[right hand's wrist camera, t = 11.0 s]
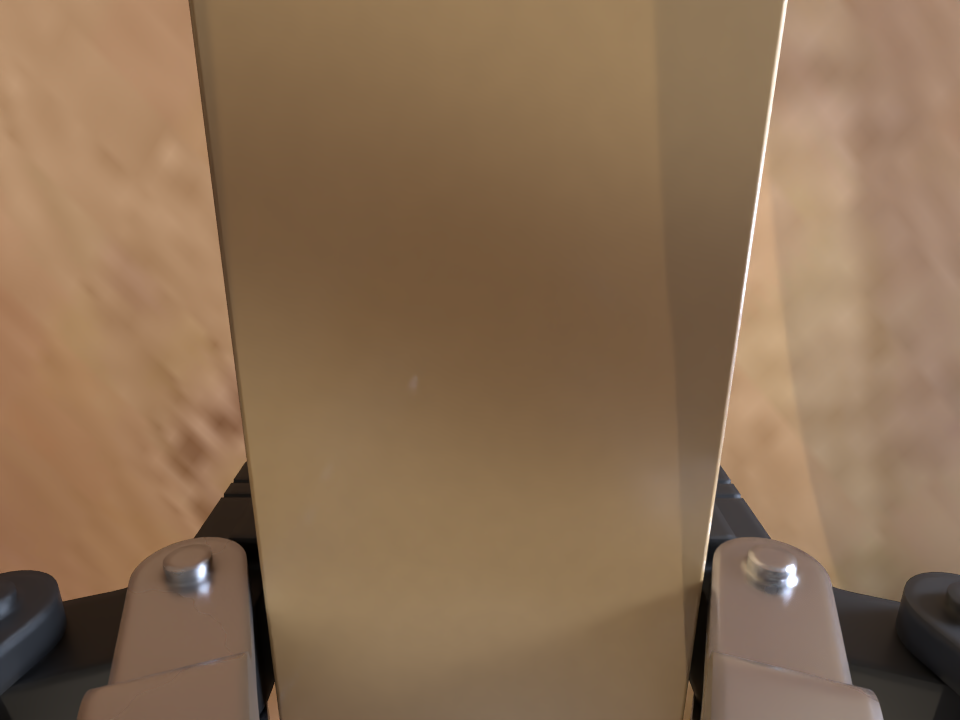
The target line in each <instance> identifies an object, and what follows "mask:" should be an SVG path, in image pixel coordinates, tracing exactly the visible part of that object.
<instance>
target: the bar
mask: <svg viewBox="0 0 960 720" xmlns="http://www.w3.org/2000/svg"><path fill="white" fill-rule="evenodd" d="M786 7H787V0H189V8H190V15H191V23H192V31H193V39H194V47H195V55H196V63H197V71H198V79H199V86H200V94H201V102H202V110H203V118H204V126H205V134H206V142H207V150H208V157H209V165H210V173H211V181H212V189H213V197H214V205H215V213H216V221H217V228H218V236H219V244H220V252H221V260H222V268H223V276H224V284H225V292H226V299H227V307H228V315H229V323H230V331H231V339H232V347H233V355H234V363H235V370H236V378H237V386H238V394H239V402H240V410H241V418H242V426H243V434H244V441H245V449H246V457H247V465H248V473H249V481H250V489H251V497H252V505H253V512H254V520H255V528H256V536H257V544H258V552H259V560H260V568H261V576H262V583H263V591H264V599H265V607H266V615H267V623H268V631H269V639H270V647H271V654H272V662H273V670H274V678H275V686H276V694H277V702H278V710H279V718H280V720H683V715H684V708H685V701H686V694H687V688H688V681H689V674H690V667H691V660H692V653H693V646H694V639H695V633H696V626H697V619H698V612H699V605H700V598H701V591H702V584H703V578H704V571H705V564H706V557H707V550H708V543H709V536H710V529H711V523H712V516H713V509H714V502H715V495H716V488H717V481H718V474H719V468H720V461H721V454H722V447H723V440H724V433H725V426H726V419H727V413H728V406H729V399H730V392H731V385H732V378H733V371H734V364H735V358H736V351H737V344H738V337H739V330H740V323H741V316H742V309H743V303H744V296H745V289H746V282H747V275H748V268H749V261H750V254H751V248H752V241H753V234H754V227H755V220H756V213H757V206H758V199H759V193H760V186H761V179H762V172H763V165H764V158H765V151H766V145H767V138H768V131H769V124H770V117H771V110H772V103H773V96H774V90H775V83H776V76H777V69H778V62H779V55H780V48H781V41H782V35H783V28H784V21H785V14H786Z"/></svg>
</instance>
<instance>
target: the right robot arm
mask: <svg viewBox="0 0 960 720" xmlns="http://www.w3.org/2000/svg"><path fill="white" fill-rule="evenodd" d="M689 681H690V683H691V686H692V689H693V692H694V696H693V703H692V710H691V717H690V720H960V575H957V574H952V573H943V572H929V573H922V574H918V575H915V576H914V577H912V578H910V579H909V580H908V581H907V583H906V585H905V588H904V592H903V595H902V599H901V602H897V601H892V600H887V599H882V598H877V597H872V596H868V595H863V594H858V593H853V592H849V591H845V590H841V589H838V588H835V587H832V584H831V580H830V577H829V575H828V573H827V572H826V570H825V569H824V568H823V566H822V565H821V564H820V563H819V562H818V561H816V560H815V559H814V558H813V557H811V556H810V555H808V554H807V553H805V552H803V551H801V550H800V549H798V548H796V547H793V546H791V545H788V544H786V543H783V542H779V541H776V540H771V538H770V537H769V535H768V534H767V532H766V531H765V530H764V528H763V527H762V525H761V524H760V522H759V521H758V519H757V518H756V516H755V515H754V514H753V512H752V511H751V509H750V508H749V506H748V505H747V503H746V502H745V500H744V499H743V498H741V497H740V493H739V492H738V490H737V489H736V487H735V486H734V485H733V484H731V480H730V479H729V477H728V476H727V474H726V473H725V471H724V470H723V469H722V467H721V466H720V468H719V474H718V481H717V488H716V495H715V502H714V509H713V516H712V523H711V529H710V536H709V543H708V550H707V557H706V564H705V571H704V578H703V584H702V591H701V598H700V605H699V612H698V619H697V626H696V633H695V639H694V646H693V653H692V660H691V667H690V674H689ZM274 682H275V678H274V670H273V662H272V654H271V647H270V639H269V631H268V623H267V615H266V607H265V599H264V591H263V583H262V576H261V568H260V560H259V552H258V544H257V536H256V528H255V520H254V512H253V505H252V497H251V489H250V481H249V473H248V465H247V462H245V464H244V465H243V467H242V468H241V470H240V471H239V473H238V474H237V475H236V477H235V478H234V483H231V484H230V486H229V487H228V489H227V490H226V492H225V493H224V498H221V499H220V501H219V502H218V503H217V505H216V506H215V508H214V509H213V511H212V512H211V514H210V515H209V517H208V518H207V520H206V521H205V523H204V524H203V526H202V527H201V529H200V530H199V531H198V533H197V534H196V536H195V537H194V538H193V539H189V540H184V541H181V542H177V543H174V544H172V545H169V546H167V547H164V548H162V549H160V550H159V551H157V552H155V553H153V554H152V555H150V556H149V557H147V558H146V559H145V560H144V561H142V562H141V563H140V564H139V565H138V566H137V568H136V569H135V570H134V572H133V573H132V575H131V577H130V580H129V584H128V587H127V588H124V589H120V590H116V591H112V592H107V593H102V594H97V595H93V596H88V597H83V598H78V599H73V600H68V601H63V602H62V599H61V595H60V591H59V587H58V584H57V582H56V580H55V579H54V578H53V577H52V576H51V575H49V574H47V573H44V572H40V571H33V570H21V571H12V572H6V573H1V574H0V720H270V716H269V710H268V703H267V701H268V699H269V696H270V693H271V691H272V688H273V685H274Z"/></svg>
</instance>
